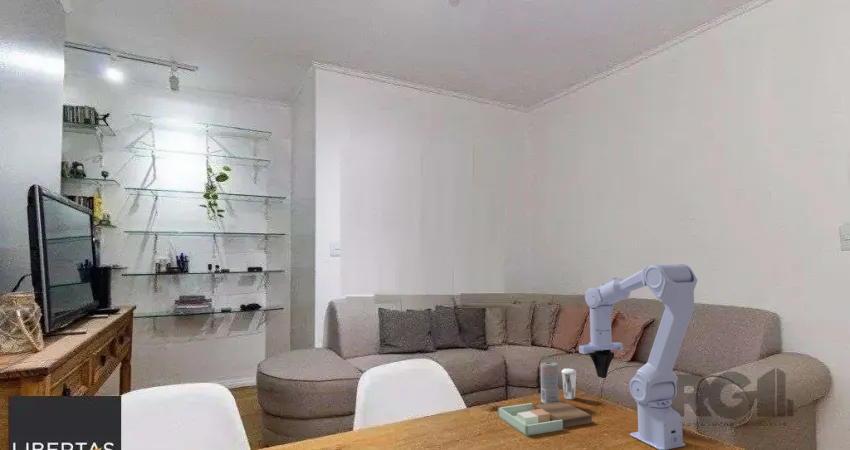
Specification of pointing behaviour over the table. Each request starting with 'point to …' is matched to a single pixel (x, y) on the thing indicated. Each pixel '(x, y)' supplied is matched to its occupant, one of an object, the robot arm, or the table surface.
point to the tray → (511, 418)
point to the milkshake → (569, 382)
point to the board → (566, 413)
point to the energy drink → (549, 382)
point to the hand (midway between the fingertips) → (601, 377)
